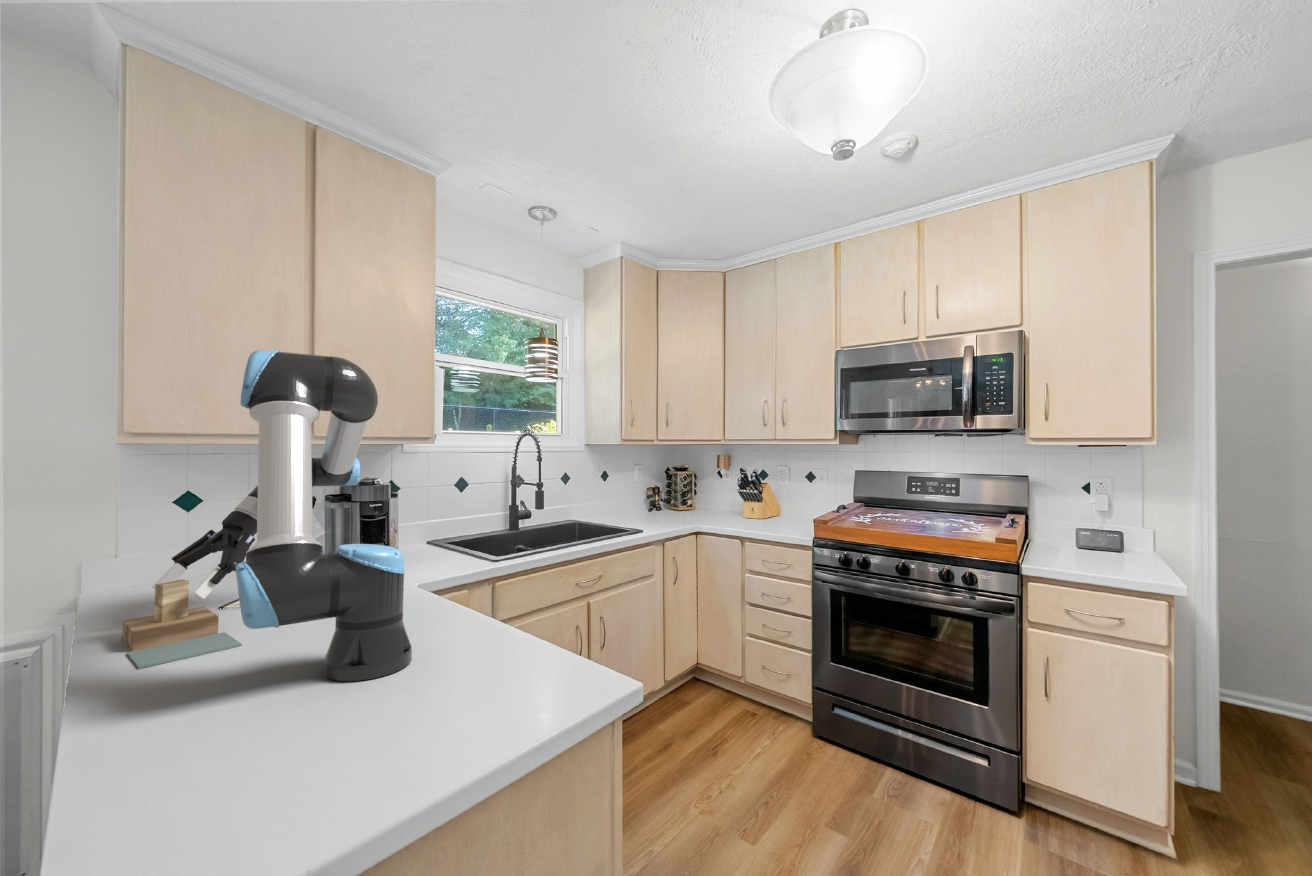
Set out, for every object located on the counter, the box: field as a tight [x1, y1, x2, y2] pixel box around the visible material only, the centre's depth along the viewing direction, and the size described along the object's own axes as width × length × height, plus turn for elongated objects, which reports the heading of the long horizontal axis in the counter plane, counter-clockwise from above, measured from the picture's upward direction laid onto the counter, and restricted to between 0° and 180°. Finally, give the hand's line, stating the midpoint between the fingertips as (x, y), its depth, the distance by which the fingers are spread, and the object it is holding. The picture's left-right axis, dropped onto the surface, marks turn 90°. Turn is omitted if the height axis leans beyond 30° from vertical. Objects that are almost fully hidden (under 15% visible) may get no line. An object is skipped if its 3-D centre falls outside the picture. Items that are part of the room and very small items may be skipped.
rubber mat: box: [126, 631, 243, 670], centre depth 112 cm, size 12×16×1 cm
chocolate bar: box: [217, 598, 240, 610], centre depth 151 cm, size 9×1×18 cm
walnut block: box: [121, 606, 219, 651], centre depth 120 cm, size 12×14×4 cm
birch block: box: [153, 579, 190, 622], centre depth 120 cm, size 2×5×8 cm, turn 162°
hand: (177, 592), depth 122 cm, fingers open, 13 cm apart
